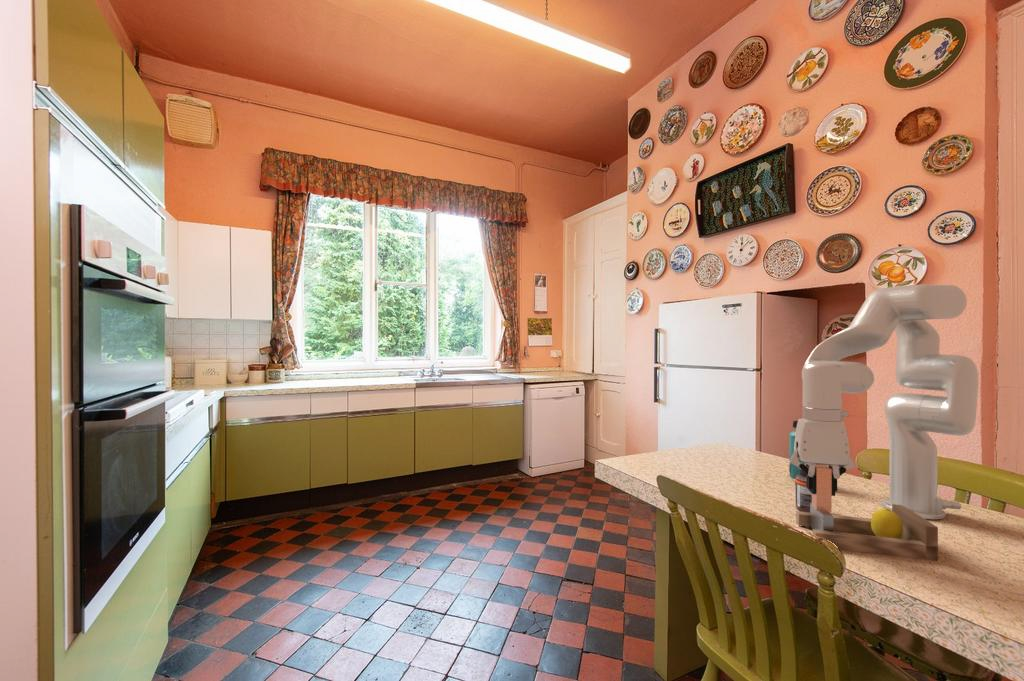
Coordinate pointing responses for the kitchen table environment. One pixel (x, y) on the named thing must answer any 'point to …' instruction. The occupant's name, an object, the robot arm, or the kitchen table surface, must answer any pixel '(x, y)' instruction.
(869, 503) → the kitchen table surface
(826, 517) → the sliding jaw
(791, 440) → the beverage bottle
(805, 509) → the supplement bottle
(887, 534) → the lemon
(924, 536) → the frame
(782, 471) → the kitchen table surface
